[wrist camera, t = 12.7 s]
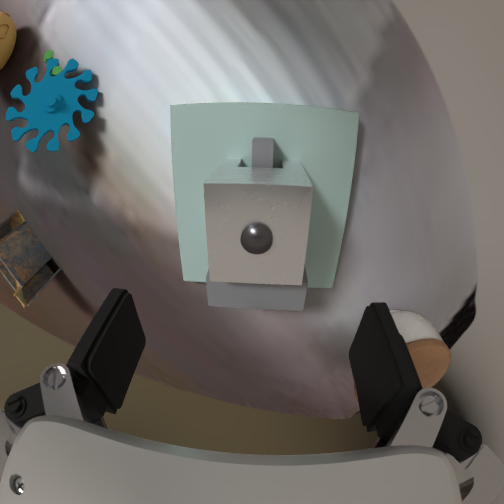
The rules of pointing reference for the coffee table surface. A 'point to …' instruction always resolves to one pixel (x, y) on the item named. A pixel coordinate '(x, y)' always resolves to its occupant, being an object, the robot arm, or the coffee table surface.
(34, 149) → the gear
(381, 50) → the coffee table surface
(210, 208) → the grey box with knob
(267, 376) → the coffee table surface
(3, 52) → the stress ball
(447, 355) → the lidded bowl
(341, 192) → the plate with grey stand
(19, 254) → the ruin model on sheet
